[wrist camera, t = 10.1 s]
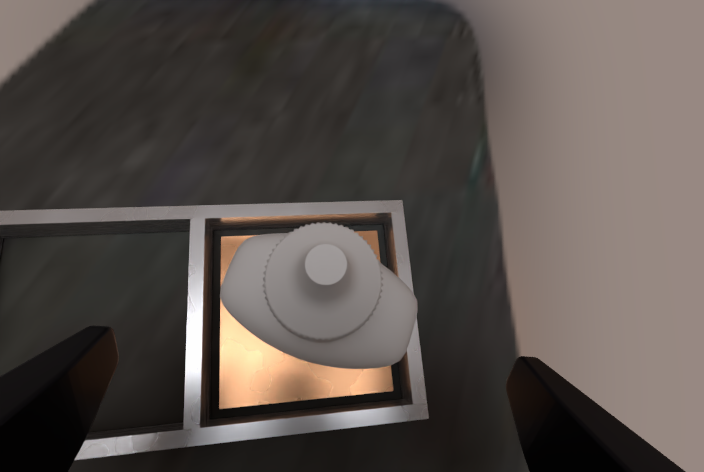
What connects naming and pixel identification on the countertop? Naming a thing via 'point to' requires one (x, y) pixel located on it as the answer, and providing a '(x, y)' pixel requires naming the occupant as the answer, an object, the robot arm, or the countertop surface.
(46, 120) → the countertop surface
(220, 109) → the countertop surface
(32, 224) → the tray
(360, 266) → the eye dropper bottle
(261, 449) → the countertop surface
